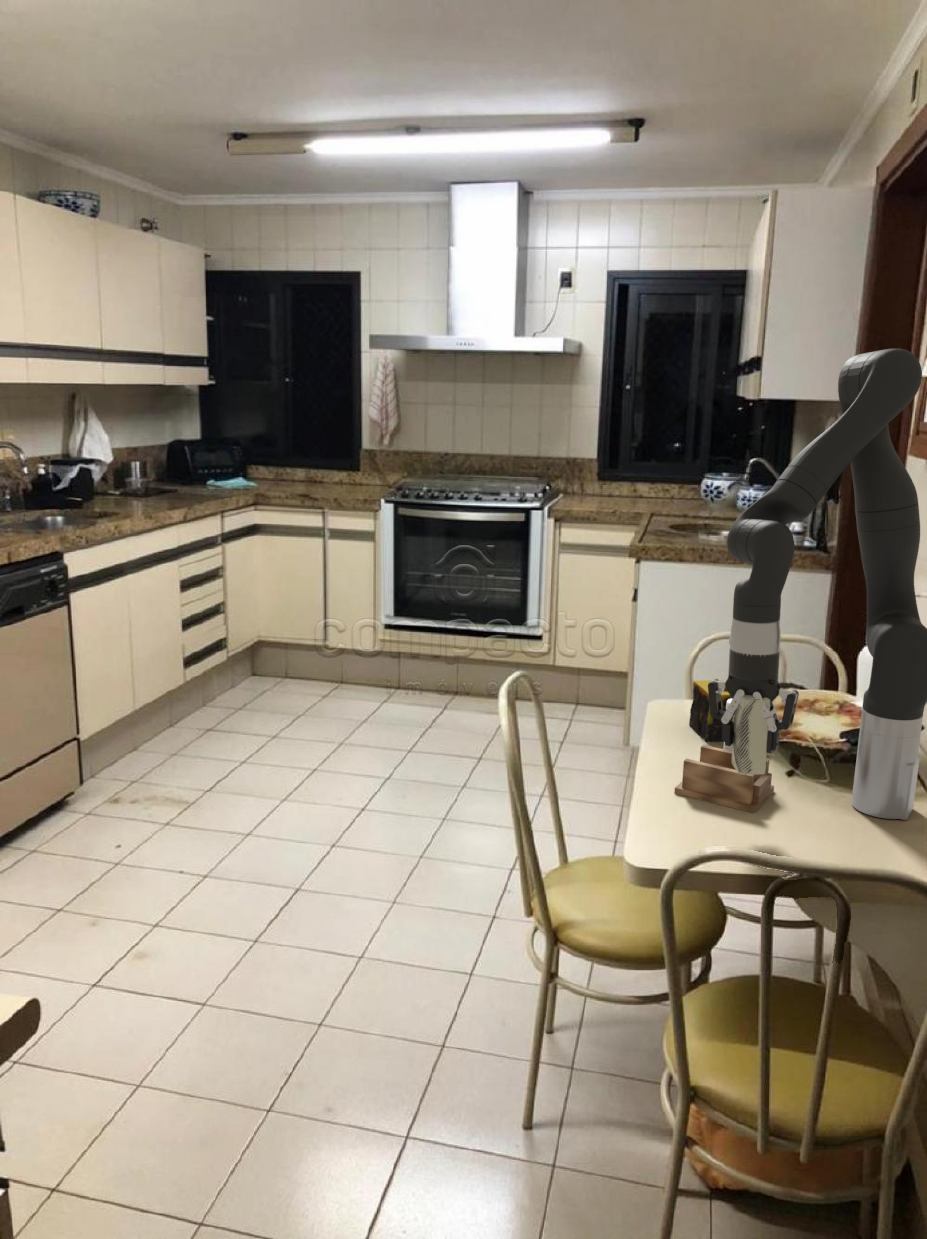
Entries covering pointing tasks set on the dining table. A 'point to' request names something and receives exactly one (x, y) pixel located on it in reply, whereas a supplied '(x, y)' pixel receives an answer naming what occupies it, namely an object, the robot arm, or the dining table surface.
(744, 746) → the box
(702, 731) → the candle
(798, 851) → the dining table surface
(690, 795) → the rack
